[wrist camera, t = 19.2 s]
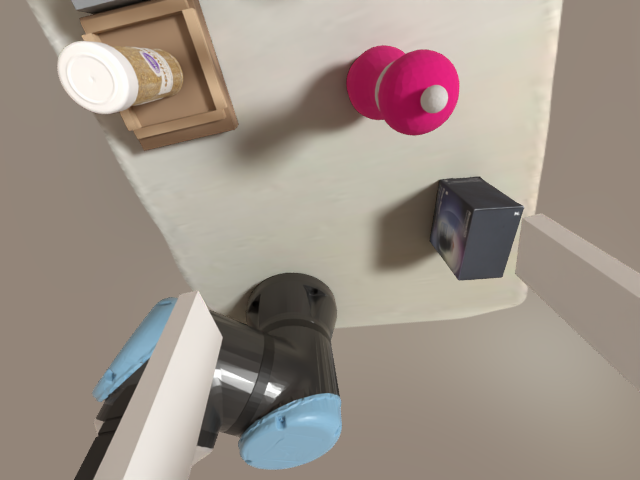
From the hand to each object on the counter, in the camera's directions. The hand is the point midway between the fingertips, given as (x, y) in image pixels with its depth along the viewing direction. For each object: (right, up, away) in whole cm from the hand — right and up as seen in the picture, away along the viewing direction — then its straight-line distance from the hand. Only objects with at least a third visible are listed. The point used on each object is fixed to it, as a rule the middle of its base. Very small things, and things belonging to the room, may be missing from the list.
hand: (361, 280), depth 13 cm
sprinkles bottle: (-18, +19, +20) cm, 34 cm away
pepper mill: (+4, +21, +25) cm, 33 cm away
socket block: (-19, +20, +23) cm, 36 cm away
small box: (+18, +6, +35) cm, 40 cm away
